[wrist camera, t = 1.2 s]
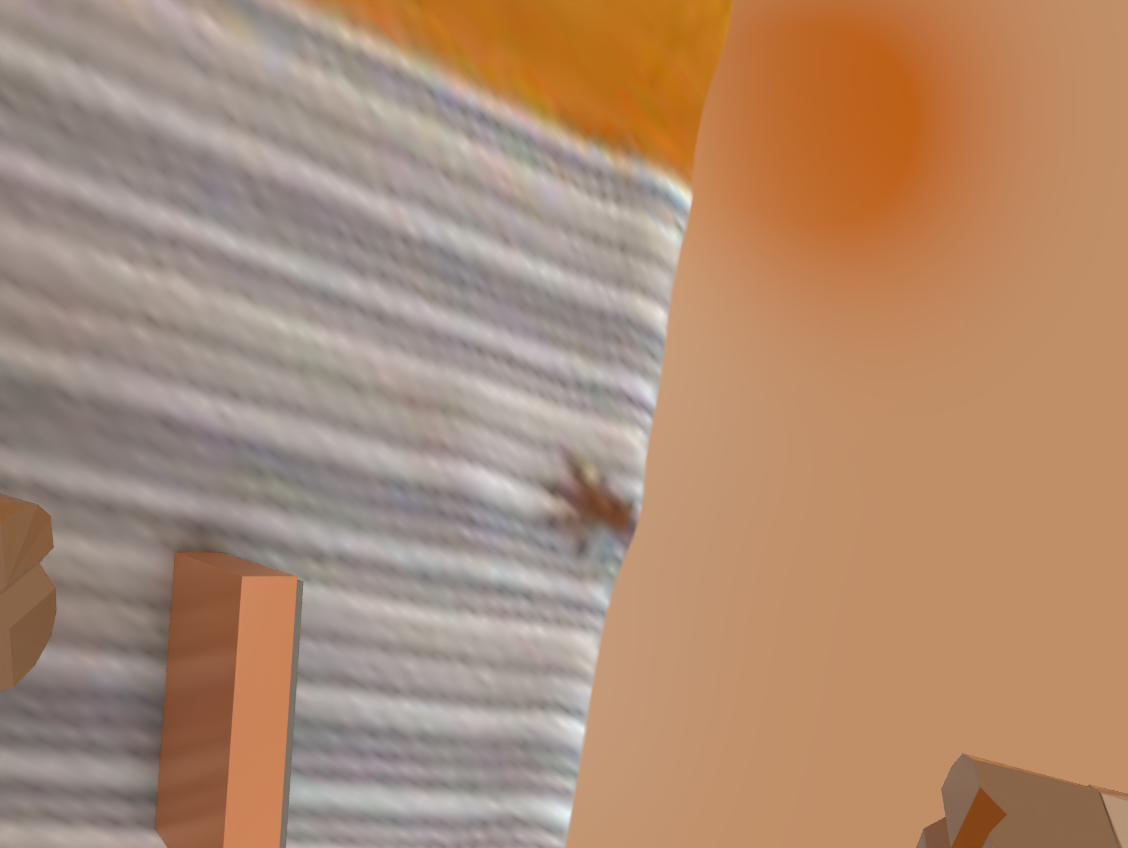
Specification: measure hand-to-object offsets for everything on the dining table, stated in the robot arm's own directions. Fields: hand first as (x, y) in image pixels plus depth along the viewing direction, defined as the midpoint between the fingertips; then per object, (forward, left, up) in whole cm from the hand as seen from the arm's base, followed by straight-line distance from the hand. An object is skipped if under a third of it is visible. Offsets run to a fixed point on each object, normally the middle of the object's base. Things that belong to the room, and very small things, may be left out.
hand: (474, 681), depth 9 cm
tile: (+9, -6, -41) cm, 42 cm away
